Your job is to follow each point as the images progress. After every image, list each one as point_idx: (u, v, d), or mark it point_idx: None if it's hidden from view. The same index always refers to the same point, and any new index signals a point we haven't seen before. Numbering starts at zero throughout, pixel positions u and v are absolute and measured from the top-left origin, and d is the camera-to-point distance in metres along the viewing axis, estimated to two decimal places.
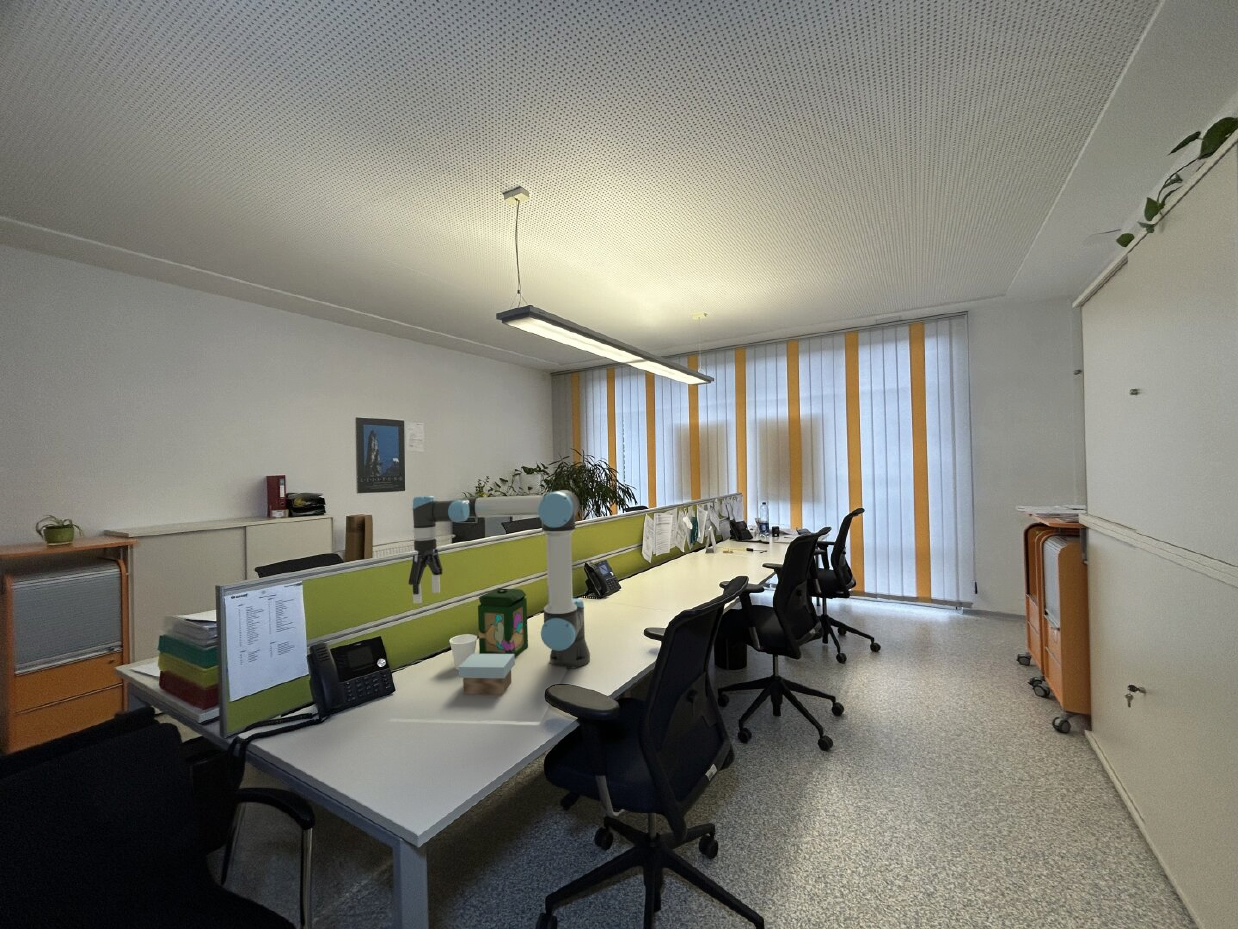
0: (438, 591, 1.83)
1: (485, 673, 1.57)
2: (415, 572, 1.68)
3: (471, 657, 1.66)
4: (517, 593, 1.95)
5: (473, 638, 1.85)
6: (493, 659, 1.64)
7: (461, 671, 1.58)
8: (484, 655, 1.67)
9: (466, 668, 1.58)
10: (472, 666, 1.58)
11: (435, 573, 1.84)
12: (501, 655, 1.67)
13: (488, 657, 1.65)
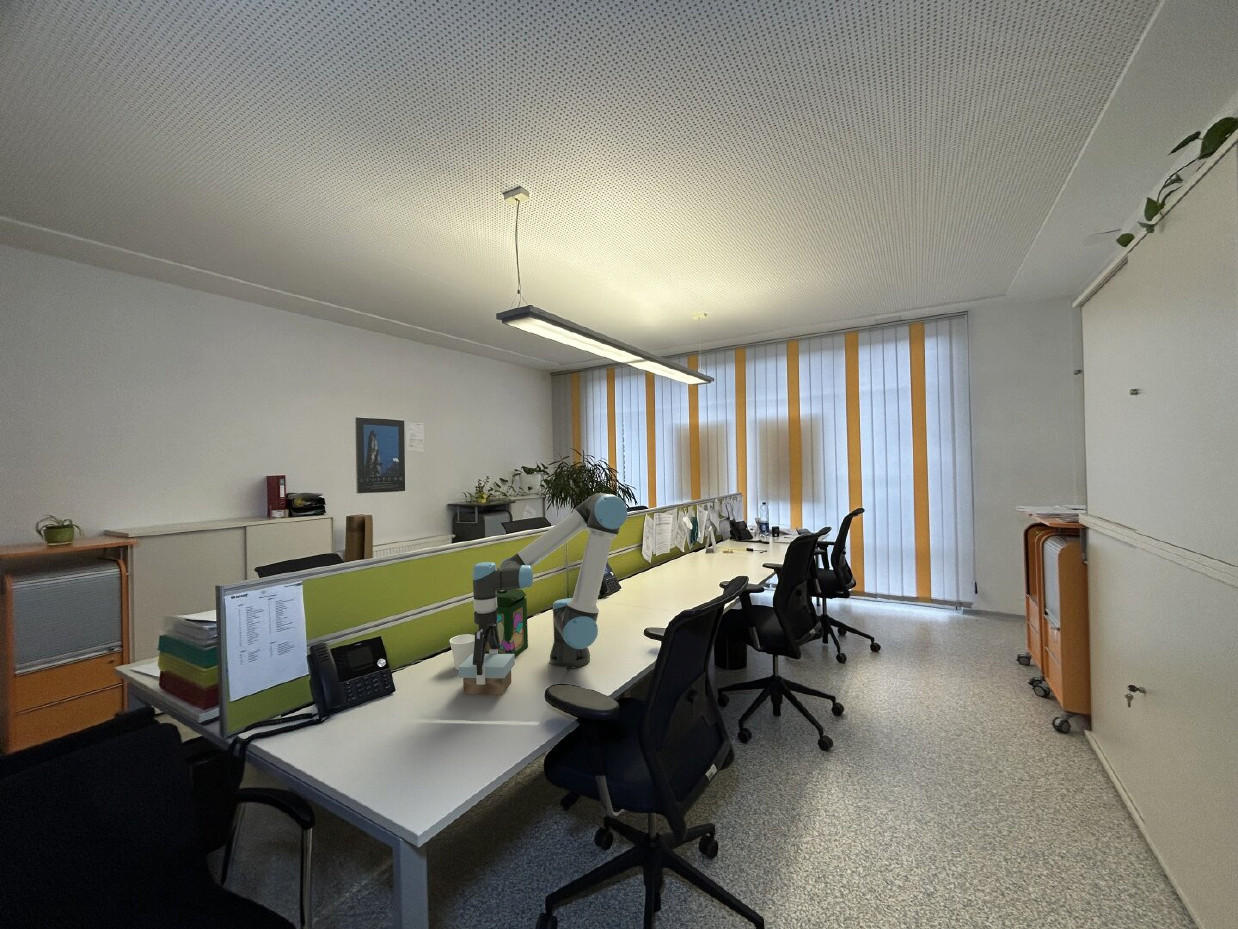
0: None
1: (485, 673, 1.57)
2: (479, 651, 1.55)
3: (471, 657, 1.66)
4: (517, 593, 1.95)
5: (473, 638, 1.85)
6: (493, 659, 1.64)
7: (461, 671, 1.58)
8: None
9: (466, 668, 1.58)
10: (472, 666, 1.58)
11: (493, 647, 1.69)
12: (501, 655, 1.67)
13: (488, 657, 1.65)
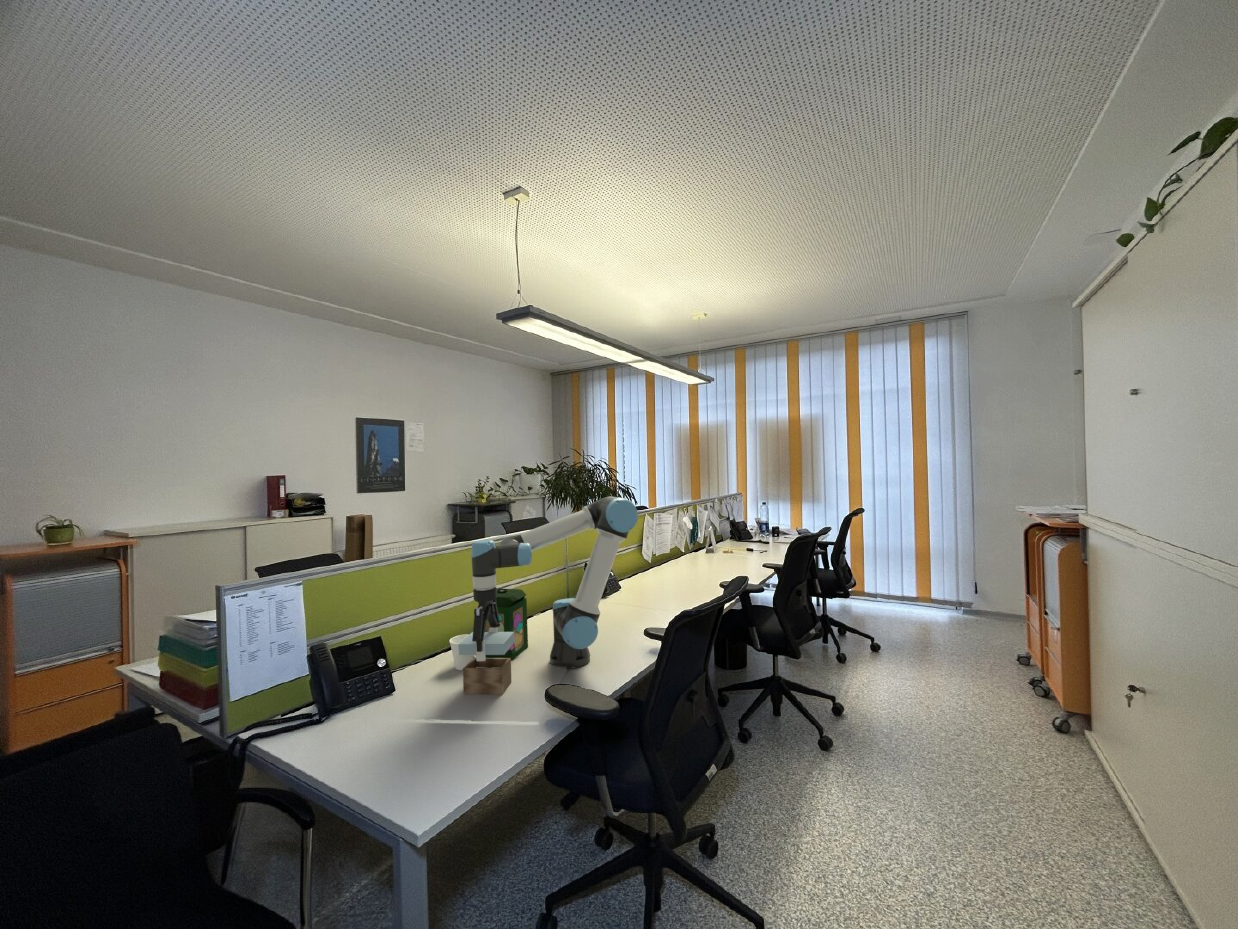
0: None
1: (485, 650, 1.58)
2: (478, 628, 1.55)
3: (471, 635, 1.66)
4: (517, 593, 1.95)
5: None
6: (493, 636, 1.64)
7: (461, 648, 1.58)
8: (484, 633, 1.67)
9: (466, 645, 1.58)
10: (472, 643, 1.59)
11: (492, 625, 1.69)
12: (501, 633, 1.67)
13: (488, 635, 1.65)
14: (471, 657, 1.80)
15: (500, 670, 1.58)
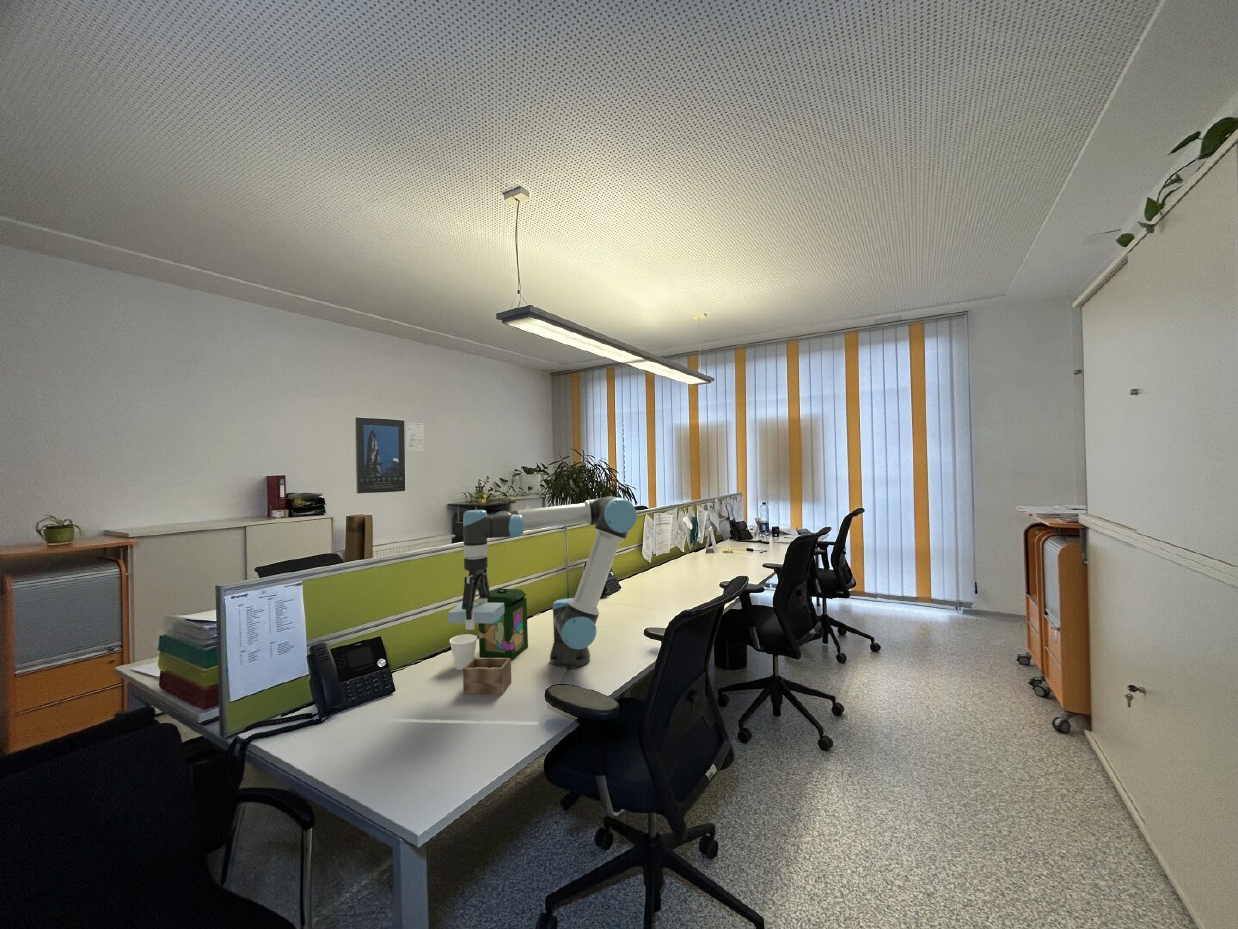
0: None
1: (474, 618, 1.58)
2: (468, 596, 1.55)
3: (461, 605, 1.66)
4: (517, 593, 1.95)
5: (473, 638, 1.85)
6: (483, 606, 1.64)
7: (450, 616, 1.58)
8: (474, 603, 1.67)
9: (455, 613, 1.58)
10: (461, 611, 1.58)
11: (482, 596, 1.69)
12: (490, 604, 1.67)
13: (478, 605, 1.66)
14: (471, 657, 1.80)
15: (500, 670, 1.58)
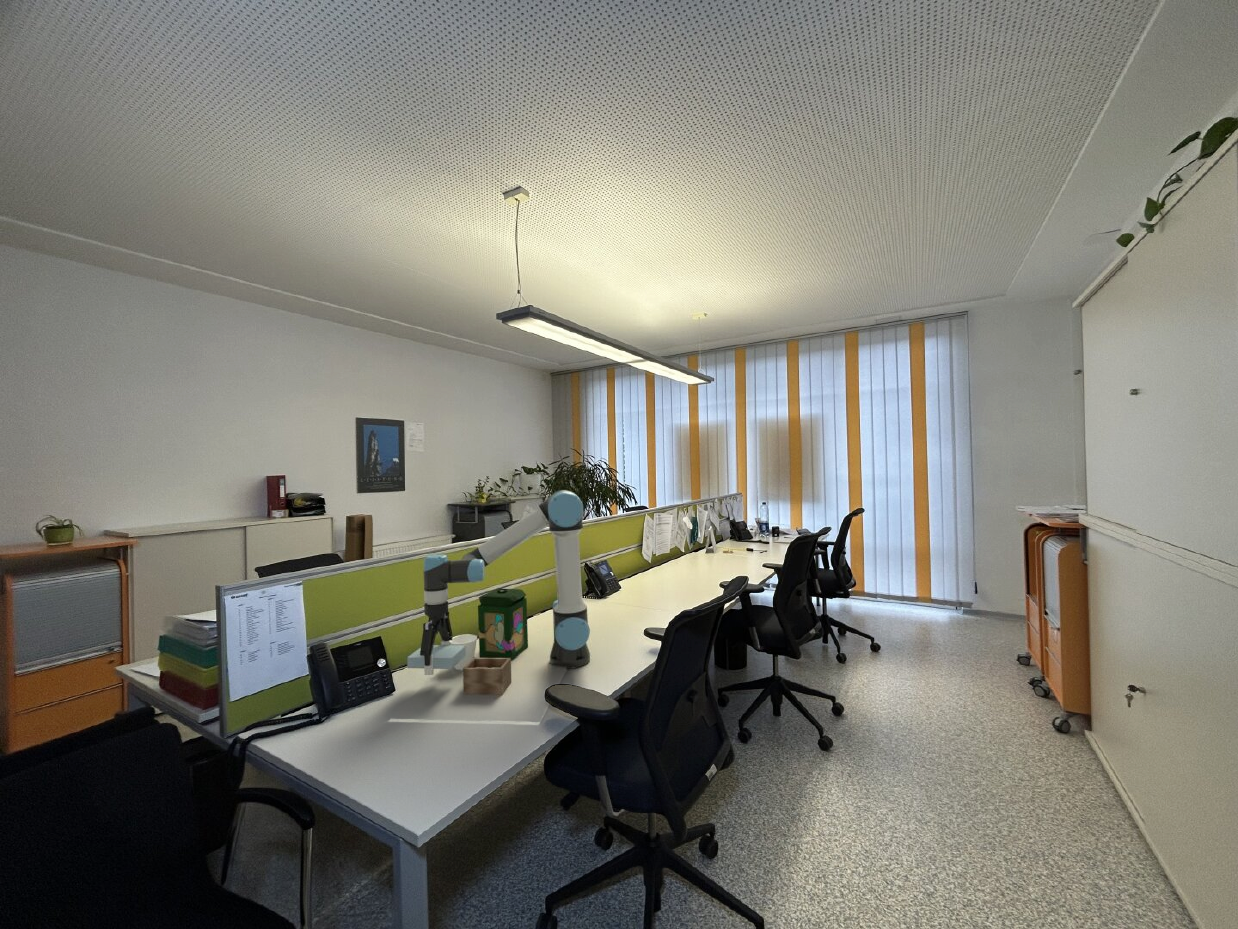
0: None
1: (433, 664, 1.59)
2: (426, 642, 1.57)
3: None
4: (517, 593, 1.95)
5: (473, 638, 1.85)
6: (443, 650, 1.65)
7: (410, 661, 1.60)
8: (436, 646, 1.69)
9: (415, 658, 1.60)
10: (421, 657, 1.60)
11: (444, 639, 1.71)
12: (452, 647, 1.68)
13: (439, 648, 1.67)
14: (471, 657, 1.80)
15: (500, 670, 1.58)
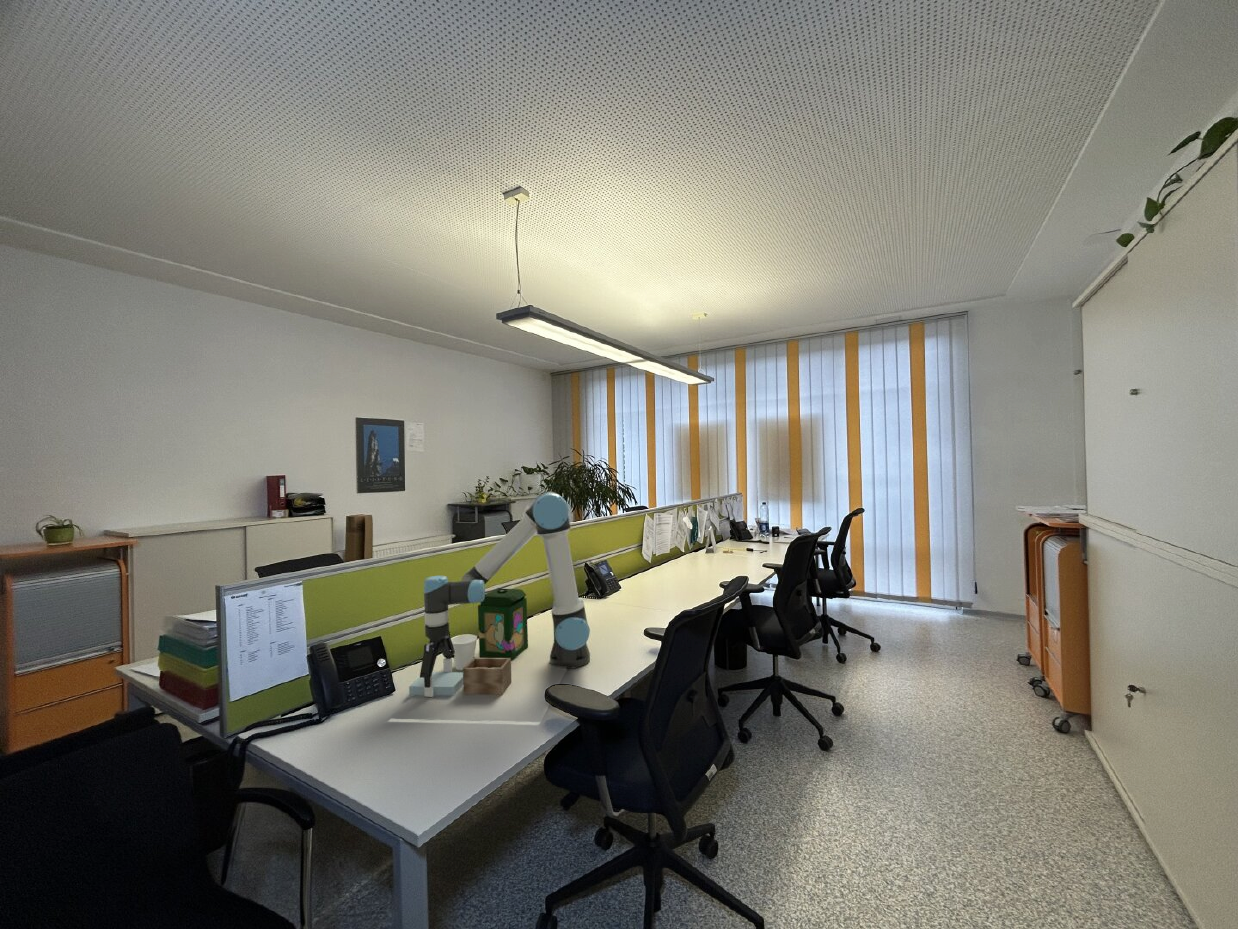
0: None
1: (435, 692, 1.59)
2: (427, 664, 1.56)
3: None
4: (517, 593, 1.95)
5: (473, 638, 1.85)
6: (445, 678, 1.65)
7: (412, 690, 1.60)
8: (437, 674, 1.69)
9: (416, 687, 1.60)
10: (423, 685, 1.60)
11: (447, 656, 1.72)
12: (453, 674, 1.68)
13: (440, 676, 1.67)
14: (471, 657, 1.80)
15: (500, 670, 1.58)
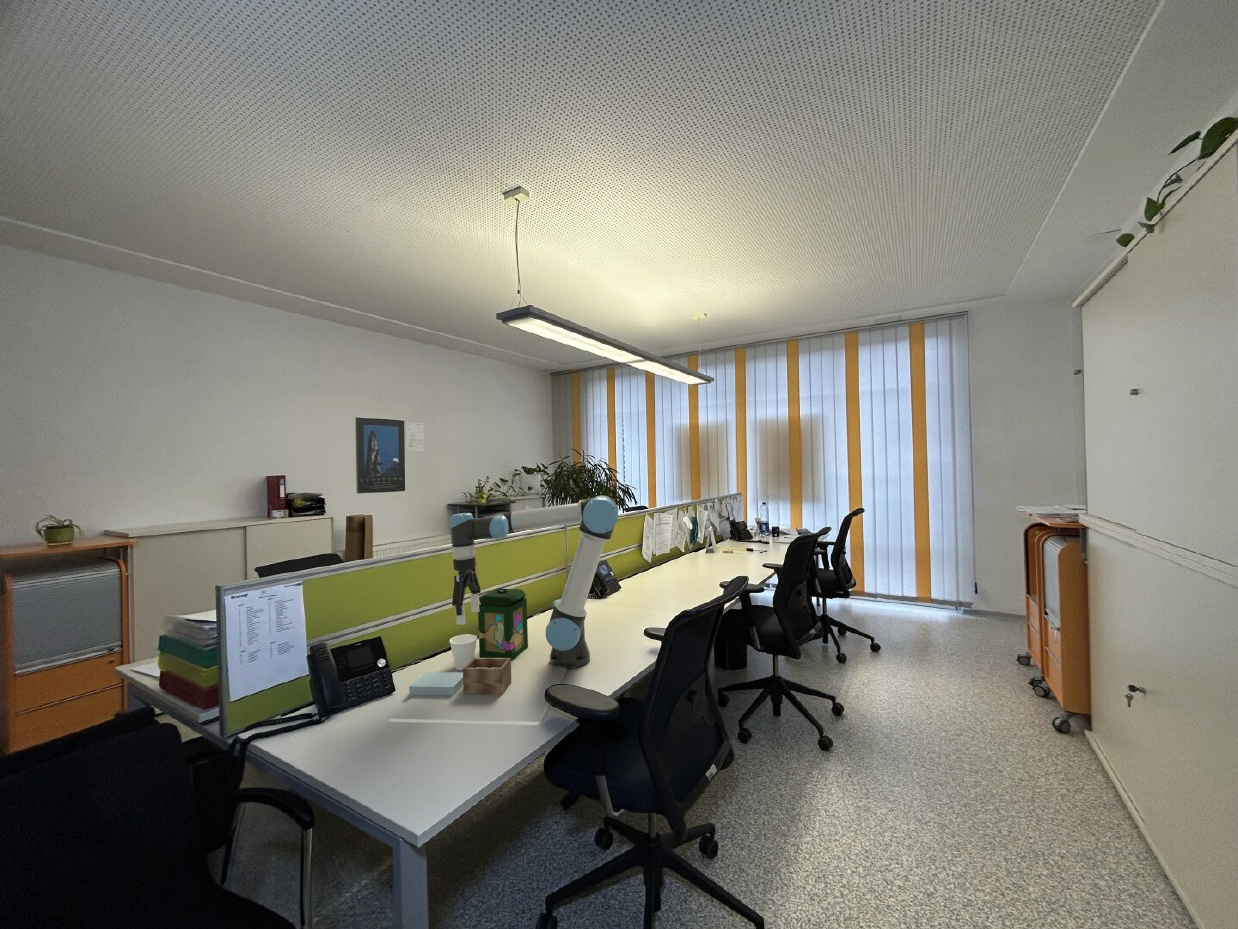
0: (477, 610, 1.79)
1: (435, 692, 1.59)
2: (458, 593, 1.64)
3: (424, 676, 1.68)
4: (517, 593, 1.95)
5: (473, 638, 1.85)
6: (445, 678, 1.65)
7: (412, 690, 1.60)
8: (437, 674, 1.69)
9: (416, 687, 1.60)
10: (423, 685, 1.60)
11: (473, 592, 1.80)
12: (453, 674, 1.68)
13: (440, 676, 1.67)
14: (471, 657, 1.80)
15: (500, 670, 1.58)
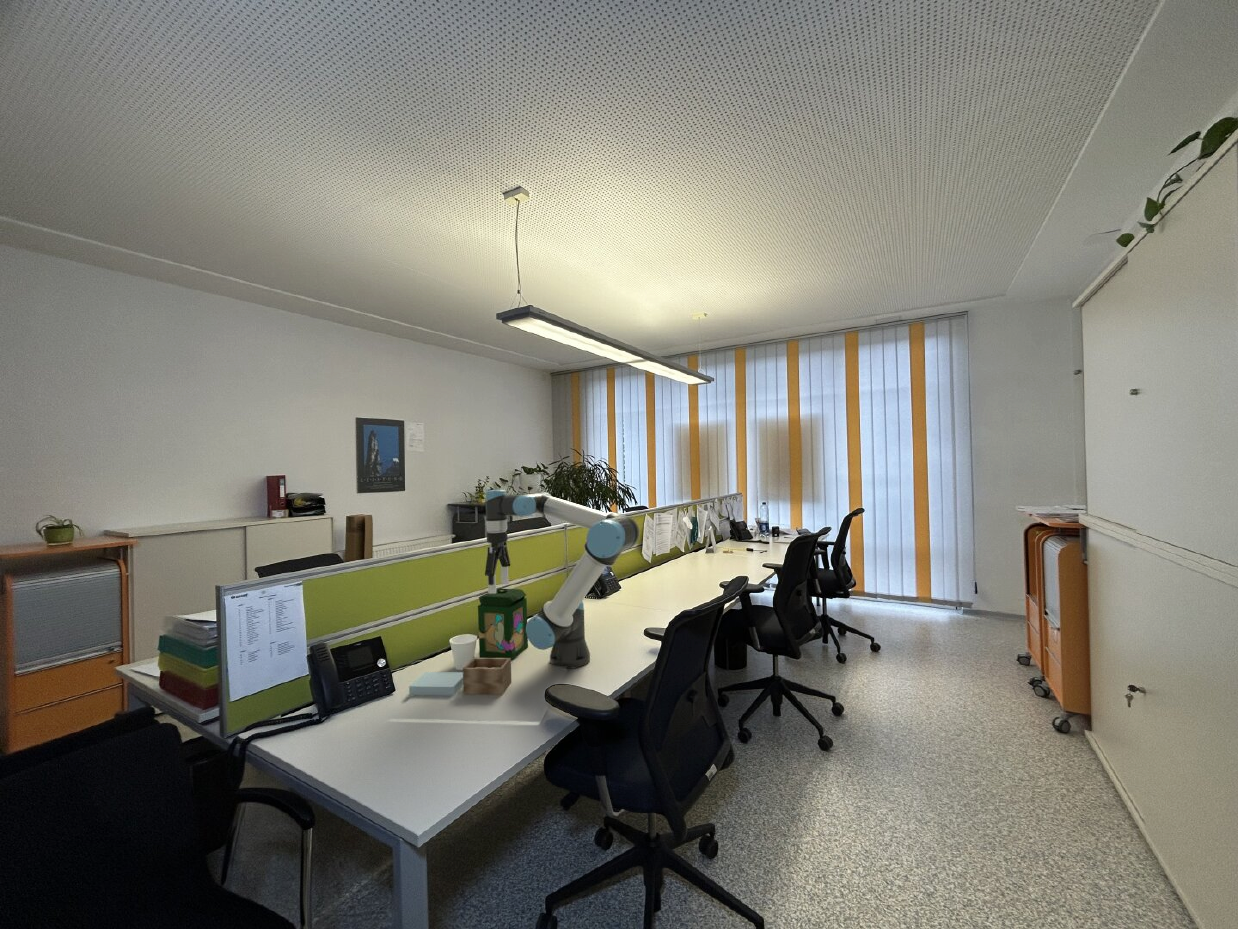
0: (507, 582, 1.90)
1: (435, 692, 1.59)
2: (491, 563, 1.75)
3: (424, 676, 1.68)
4: (517, 593, 1.95)
5: (473, 638, 1.85)
6: (445, 678, 1.65)
7: (412, 690, 1.60)
8: (437, 674, 1.69)
9: (416, 687, 1.60)
10: (423, 685, 1.60)
11: (504, 565, 1.90)
12: (453, 674, 1.68)
13: (440, 676, 1.67)
14: (471, 657, 1.80)
15: (500, 670, 1.58)
